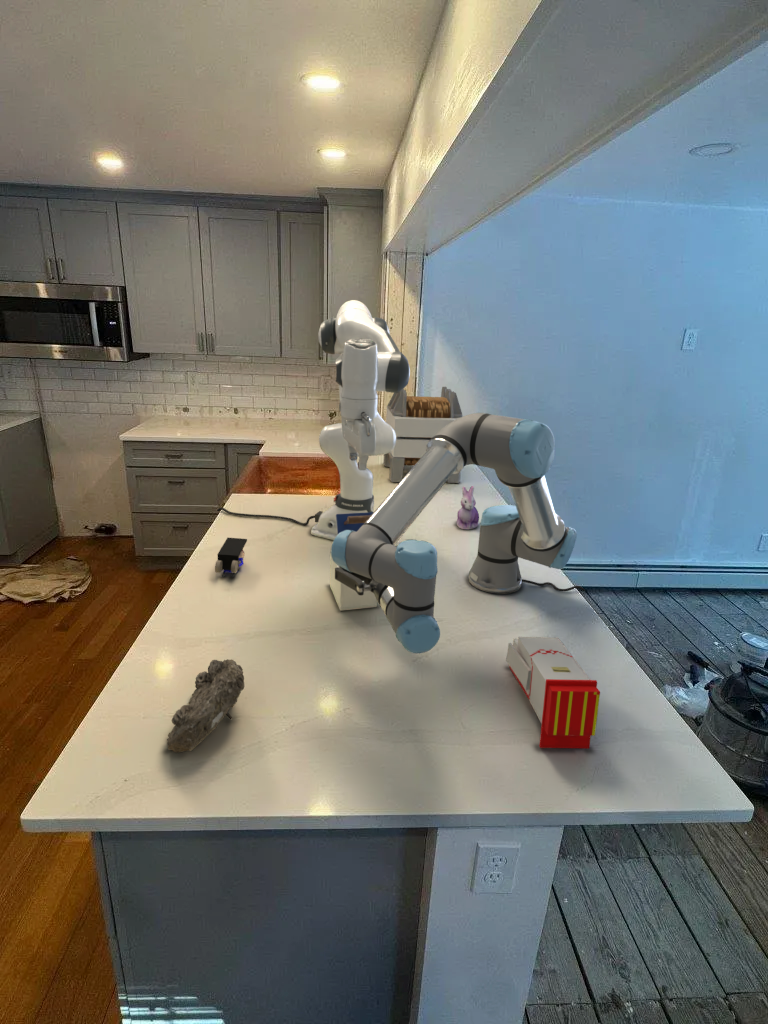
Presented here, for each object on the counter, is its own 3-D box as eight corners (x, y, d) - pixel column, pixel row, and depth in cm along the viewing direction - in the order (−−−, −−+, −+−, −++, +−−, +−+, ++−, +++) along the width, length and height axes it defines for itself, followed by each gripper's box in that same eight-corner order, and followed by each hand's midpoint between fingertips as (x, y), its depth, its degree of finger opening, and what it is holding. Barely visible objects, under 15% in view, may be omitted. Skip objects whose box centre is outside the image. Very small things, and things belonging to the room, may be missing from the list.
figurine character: (238, 584, 162) (249, 557, 175) (236, 562, 158) (247, 536, 172) (215, 584, 161) (227, 556, 175) (212, 561, 158) (225, 535, 171)
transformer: (382, 463, 289) (386, 382, 275) (445, 464, 293) (451, 384, 279) (390, 482, 257) (394, 392, 243) (460, 483, 261) (468, 394, 247)
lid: (335, 514, 146) (341, 509, 139) (372, 512, 149) (380, 507, 141) (340, 572, 144) (346, 570, 137) (377, 569, 147) (386, 567, 139)
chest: (329, 585, 161) (330, 551, 157) (363, 582, 163) (364, 549, 160) (340, 610, 148) (340, 574, 144) (376, 607, 150) (378, 570, 147)
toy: (554, 620, 129) (609, 687, 99) (549, 674, 131) (601, 755, 102) (501, 619, 128) (541, 686, 99) (497, 673, 131) (534, 754, 102)
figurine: (464, 532, 204) (468, 492, 199) (449, 522, 212) (452, 484, 207) (486, 528, 208) (490, 489, 203) (469, 519, 216) (473, 481, 211)
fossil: (192, 660, 117) (244, 628, 112) (224, 691, 120) (276, 661, 115) (142, 746, 98) (202, 712, 93) (182, 779, 101) (242, 748, 96)
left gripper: (383, 417, 128) (380, 475, 133) (361, 402, 147) (360, 454, 151) (356, 417, 127) (354, 476, 131) (337, 402, 145) (337, 455, 150)
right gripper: (336, 621, 112) (318, 574, 132) (452, 608, 119) (419, 565, 138) (336, 587, 110) (318, 544, 129) (455, 576, 117) (421, 537, 136)
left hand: (357, 464), depth 141 cm, fingers open, 8 cm apart
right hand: (370, 555), depth 134 cm, fingers open, 13 cm apart
